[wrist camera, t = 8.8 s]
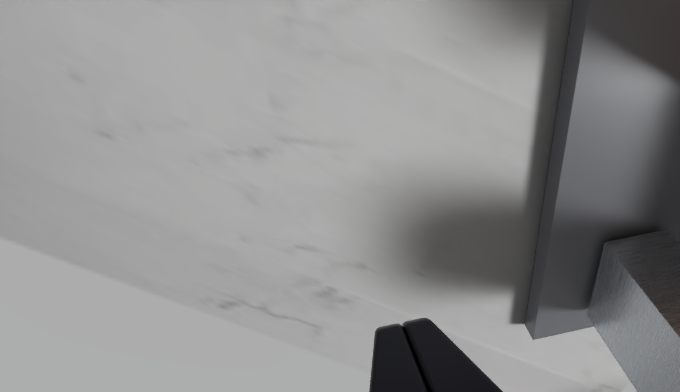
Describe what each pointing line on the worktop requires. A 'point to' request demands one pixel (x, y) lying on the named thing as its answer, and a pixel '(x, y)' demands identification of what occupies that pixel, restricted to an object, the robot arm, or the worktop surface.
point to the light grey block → (641, 308)
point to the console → (607, 151)
